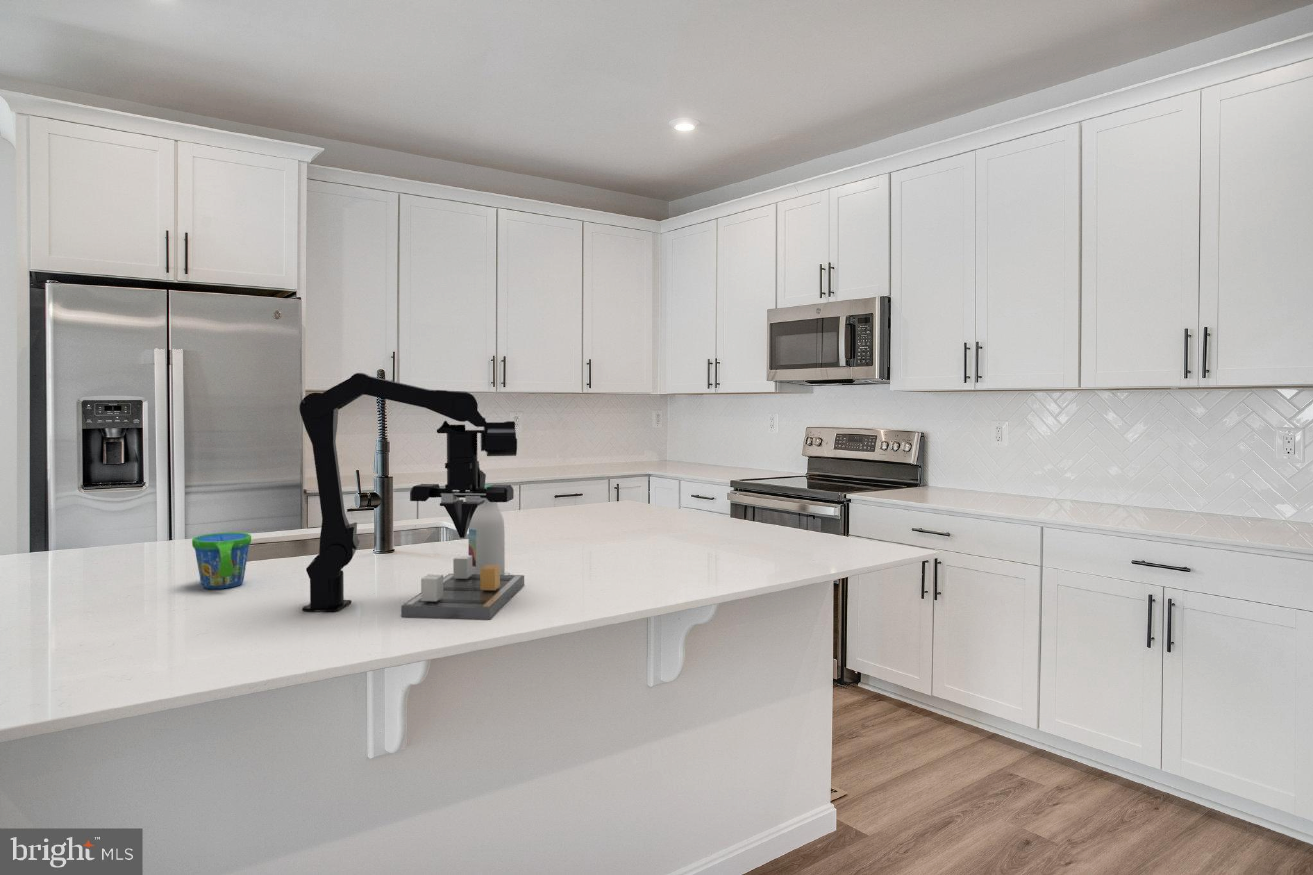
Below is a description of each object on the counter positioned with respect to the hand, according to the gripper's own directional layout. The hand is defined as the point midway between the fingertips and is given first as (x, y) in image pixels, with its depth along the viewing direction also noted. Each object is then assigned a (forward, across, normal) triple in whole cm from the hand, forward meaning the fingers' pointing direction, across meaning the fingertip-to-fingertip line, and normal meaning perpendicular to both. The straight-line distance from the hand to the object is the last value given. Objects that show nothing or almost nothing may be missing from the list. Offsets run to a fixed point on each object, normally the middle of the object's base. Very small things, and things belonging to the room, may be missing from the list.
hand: (462, 537), depth 150 cm
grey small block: (+10, +3, +9) cm, 14 cm away
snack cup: (+12, +52, -6) cm, 54 cm away
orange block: (+10, -5, 0) cm, 11 cm away
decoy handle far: (+10, +3, -9) cm, 14 cm away
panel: (+12, -1, 0) cm, 12 cm away
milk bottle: (+12, +1, -20) cm, 23 cm away
